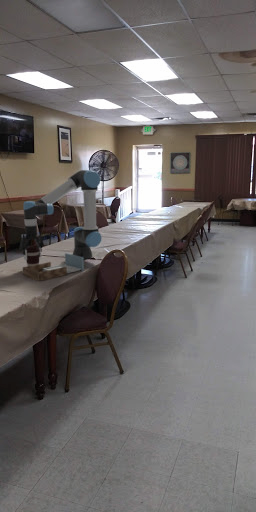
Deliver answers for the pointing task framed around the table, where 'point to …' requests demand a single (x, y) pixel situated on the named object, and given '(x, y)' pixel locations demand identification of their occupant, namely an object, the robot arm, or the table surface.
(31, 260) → the coffee cup
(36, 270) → the brown wooden frame
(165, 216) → the table surface
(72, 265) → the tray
